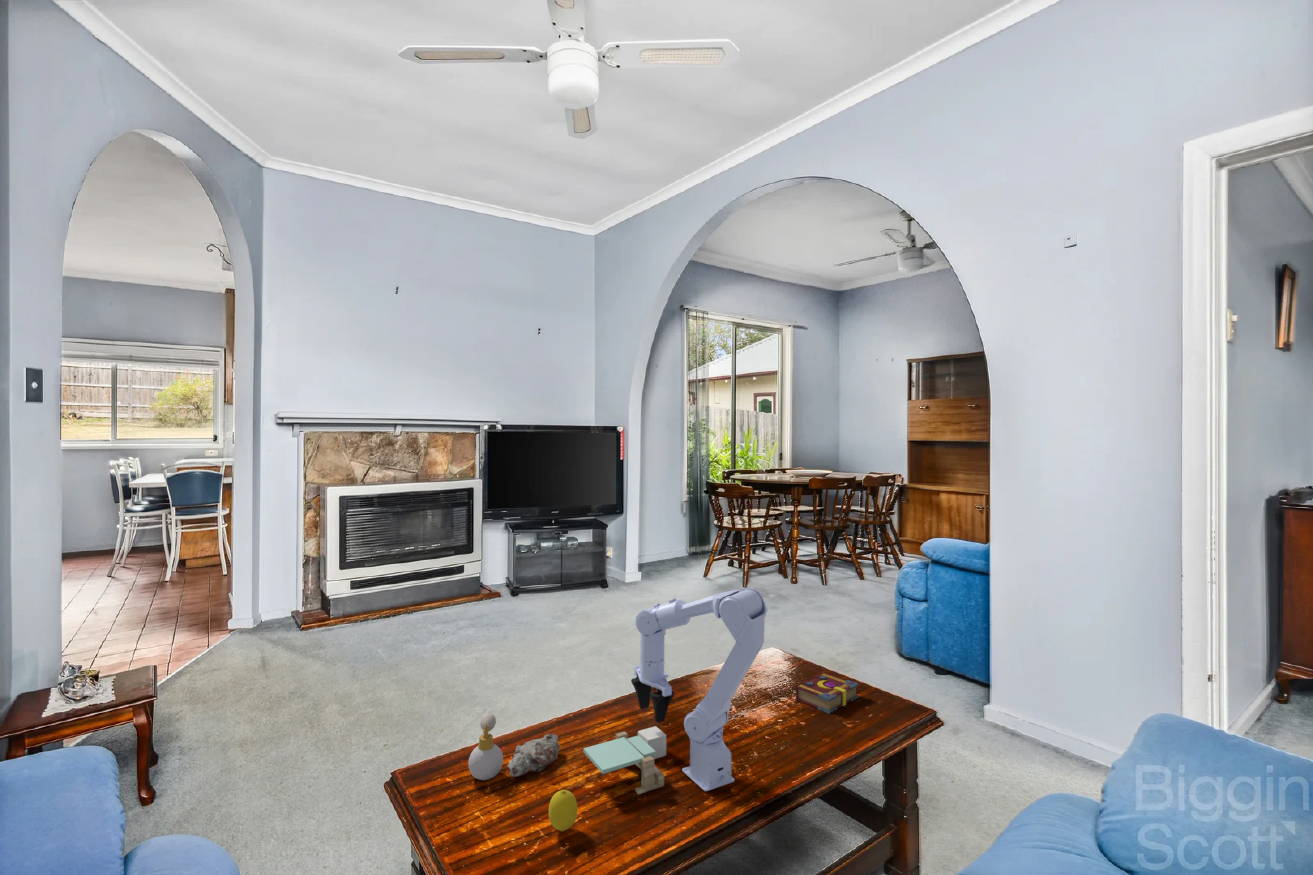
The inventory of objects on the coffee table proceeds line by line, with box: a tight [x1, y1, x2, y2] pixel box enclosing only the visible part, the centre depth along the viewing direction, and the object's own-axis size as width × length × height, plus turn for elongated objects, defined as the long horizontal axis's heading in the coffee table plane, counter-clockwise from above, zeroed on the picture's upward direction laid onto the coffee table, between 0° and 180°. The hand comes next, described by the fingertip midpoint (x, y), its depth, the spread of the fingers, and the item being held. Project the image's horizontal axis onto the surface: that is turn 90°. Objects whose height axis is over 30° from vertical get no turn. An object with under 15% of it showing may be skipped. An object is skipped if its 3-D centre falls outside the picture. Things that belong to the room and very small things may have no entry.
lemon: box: [548, 789, 578, 832], centre depth 120 cm, size 6×6×8 cm
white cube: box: [637, 725, 667, 760], centre depth 149 cm, size 5×5×5 cm
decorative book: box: [795, 672, 859, 715], centre depth 179 cm, size 11×16×5 cm
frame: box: [615, 731, 665, 795], centre depth 140 cm, size 14×6×7 cm, turn 30°
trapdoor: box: [582, 735, 656, 775], centre depth 138 cm, size 11×14×2 cm
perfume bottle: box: [468, 712, 504, 781], centre depth 140 cm, size 8×10×12 cm
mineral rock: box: [507, 732, 560, 778], centre depth 144 cm, size 15×8×4 cm, turn 133°
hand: (652, 714), depth 149 cm, fingers open, 7 cm apart
